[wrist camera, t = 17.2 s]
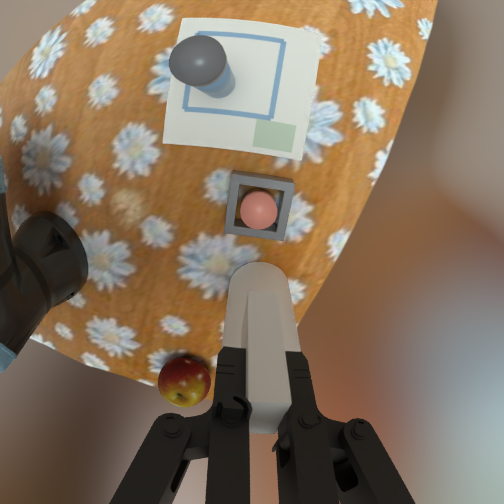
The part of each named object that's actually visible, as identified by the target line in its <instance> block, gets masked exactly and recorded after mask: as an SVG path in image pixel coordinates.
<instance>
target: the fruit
mask: <svg viewBox="0 0 504 504" xmlns="http://www.w3.org/2000/svg"><path fill="white" fill-rule="evenodd" d="M210 385H211V378H210V375H209V372H208V371H207V369H206V368H205V367H204V366H203V365H201V364H200V363H198V362H196V361H193V360H191V359H187V358H176V359H173V360H171V361H169V362H167V363H166V364H165V365H164V366H163V368H162V369H161V371H160V374H159V378H158V388H159V391H160V393H161V395H162V396H163V397H164V398H165V399H166V400H167V401H168V402H170V403H171V404H173V405H176V406H179V407H190V406H194V405H196V404H198V403H199V402H201V401H202V400H203V399H204V398H205V397H206V395H207V394H208V392H209V389H210Z"/></svg>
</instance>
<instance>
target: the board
mask: <svg viewBox="0 0 504 504" xmlns="http://www.w3.org/2000/svg"><path fill="white" fill-rule="evenodd" d="M196 35H205V36H210V37H212V38H214V39H216V40H217V41H218V42H219V43H220V44H221V45H222V46H223V48H224V51H225V53H226V56H227V61H228V64H229V66H230V68H231V71H232V73H233V75H234V78H235V88H234V90H233V91H232V92H231V93H230V94H229V95H228V96H226V97H223V98H213V97H210V96H209V95H207V94H205V93H203V92H202V91H200V90H198V89H196V88H195V87H192V86H189V85H186V84H184V83H182V82H180V81H179V80H177V79H176V78H175V77H174V76H173V74H172V73H171V79H170V85H169V92H168V99H167V107H166V115H165V124H164V133H163V144H179V145H192V146H203V147H213V148H222V149H230V150H238V151H246V152H253V153H260V154H266V155H272V156H278V157H284V158H290V159H295V160H300V161H302V155H303V150H304V145H305V140H306V134H307V129H308V123H309V118H310V112H311V106H312V100H313V94H314V89H315V83H316V76H317V70H318V64H319V57H320V51H321V44H322V37H323V34H320V33H316V32H312V31H308V30H303V29H299V28H294V27H289V26H283V25H277V24H271V23H264V22H257V21H248V20H237V19H222V18H182V22H181V27H180V31H179V36H178V40H177V44H179V43H180V42H181V41H182V40H184V39H186V38H188V37H191V36H196Z"/></svg>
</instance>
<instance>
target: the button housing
mask: <svg viewBox="0 0 504 504" xmlns="http://www.w3.org/2000/svg"><path fill="white" fill-rule="evenodd" d="M240 184H242V185H249V186H256V187H263V188H270V189H276V190H282V191H281V196H280V201H279V207H278V212H277V217H276V222H275V225H274V224H272V225H271V226H269V227H267V228H265V229H253V228H250V227H248V226H247V225H246V224H245V223H244V222H243V220H239V219H235V214H236V207H237V200H238V193H239V186H240ZM294 187H295V183H294V181H293V180H292V179H288V178H282V177H276V176H270V175H263V174H257V173H250V172H242V171H235V170H233V171H232V174H231V181H230V189H229V197H228V205H227V213H226V221H225V229H224V233H228V234H235V235H243V236H250V237H257V238H265V239H272V240H279V241H283V240H284V236H285V231H286V226H287V222H288V217H289V212H290V207H291V202H292V197H293V192H294Z"/></svg>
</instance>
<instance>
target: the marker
mask: <svg viewBox="0 0 504 504" xmlns="http://www.w3.org/2000/svg"><path fill="white" fill-rule="evenodd" d="M169 67H170V71H171V73H172V74H173V76H174V77H175V78H176V79H177V80H179V81H180V82H182V83H184V84H186V85H189V86H192V87H195V88H196V89H198V90H200V91H202V92H203V93H205V94H207V95H209V96H210V97H213V98H223V97H226V96H228V95H229V94H230V93H231V92H232V91H233V90H234V88H235V78H234V75H233V73H232V71H231V68H230V66H229V64H228V61H227V56H226V53H225V51H224V48H223V46H222V45H221V44H220V43H219V42H218V41H217V40H216V39H214V38H212V37H210V36H205V35H196V36H191V37H188V38H186V39H184V40H182V41H181V42H180V43H179V44H177V45H176V47H175V48H174V49H173V51H172V53H171V55H170V59H169Z"/></svg>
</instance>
